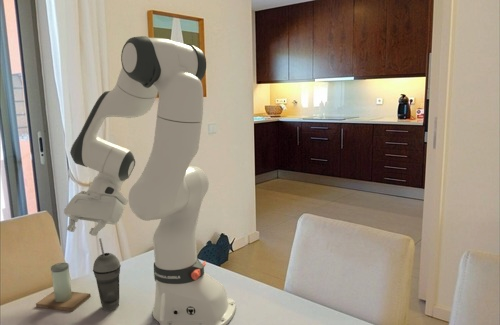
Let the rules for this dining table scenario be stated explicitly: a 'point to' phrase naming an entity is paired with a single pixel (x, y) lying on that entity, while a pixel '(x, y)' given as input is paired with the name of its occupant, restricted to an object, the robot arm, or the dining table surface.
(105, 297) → the beverage cup
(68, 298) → the sage tube
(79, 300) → the walnut board
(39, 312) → the dining table surface
